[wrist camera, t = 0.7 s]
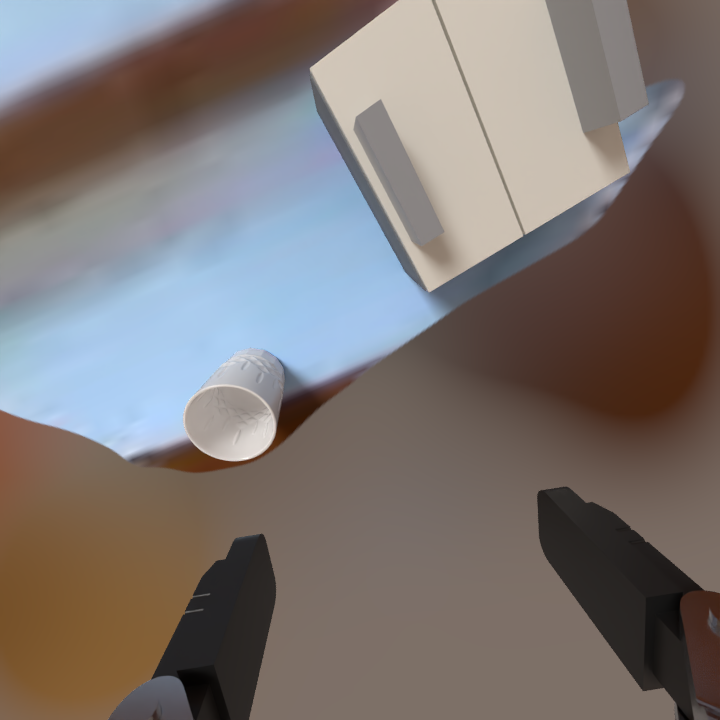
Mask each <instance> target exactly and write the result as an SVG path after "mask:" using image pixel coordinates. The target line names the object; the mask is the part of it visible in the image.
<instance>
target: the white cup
mask: <svg viewBox="0 0 720 720" xmlns="http://www.w3.org/2000/svg"><path fill="white" fill-rule="evenodd" d="M284 384H285V375H284V368H283V367H282V365H281V364H280V362H279V361H278V359H277V358H276V357H275V356H273V355H272V354H270V353H268V352H267V351H265V350H261V349H255V348H248V349H244V350H240V351H237V352H236V353H235V354H233V355H232V356H231V357H230V358H229V359H228V360H227V361H226V362H225V363H223V364H222V365H221V366H220V367H219V368H218V369H217V370H216V371H215V372H214V373H213V374H212V375H211V377H210V378H209V379H208V380H207V381H206V382H205V383H204V384H203V385H202V387H201V388H200V389H199V390H198V391H197V392H196V393H195V394H194V395H193V396H192V398H191V399H190V400H189V401H188V403H187V405H186V407H185V410H184V414H183V423H184V428H185V431H186V433H187V435H188V437H189V439H190V440H191V441H192V442H193V444H194V445H195V446H196V447H197V448H199V449H200V450H201V451H203V452H204V453H206V454H208V455H210V456H212V457H214V458H217V459H221V460H226V461H243V460H248V459H251V458H254V457H256V456H258V455H260V454H261V453H263V452H264V451H265V450H266V449H267V448H268V447H269V446H270V445H271V443H272V442H273V440H274V437H275V434H276V429H277V424H278V419H279V414H280V409H281V405H282V398H283V389H284Z"/></svg>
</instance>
